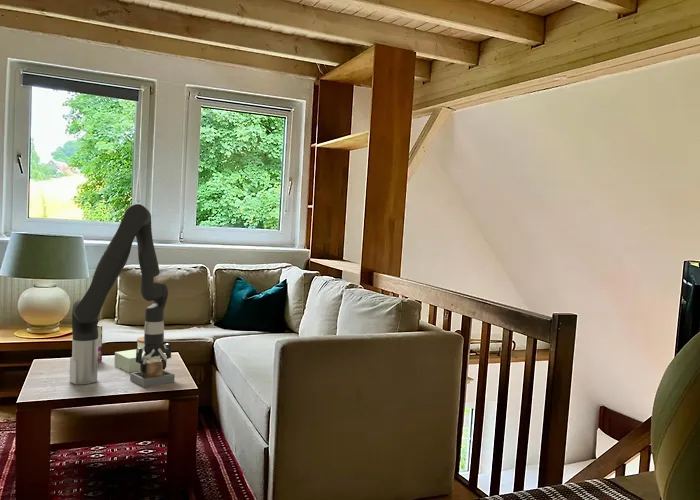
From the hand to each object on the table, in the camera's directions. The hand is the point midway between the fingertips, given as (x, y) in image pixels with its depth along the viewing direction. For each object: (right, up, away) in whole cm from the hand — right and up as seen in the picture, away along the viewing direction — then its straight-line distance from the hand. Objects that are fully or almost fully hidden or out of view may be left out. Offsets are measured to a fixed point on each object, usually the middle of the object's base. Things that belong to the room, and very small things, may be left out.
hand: (153, 371), depth 231 cm
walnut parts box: (0, -4, -1) cm, 4 cm away
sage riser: (-14, -2, +20) cm, 24 cm away
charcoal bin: (0, -4, -1) cm, 4 cm away
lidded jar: (-17, -1, +41) cm, 45 cm away
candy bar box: (-38, -1, +23) cm, 44 cm away
